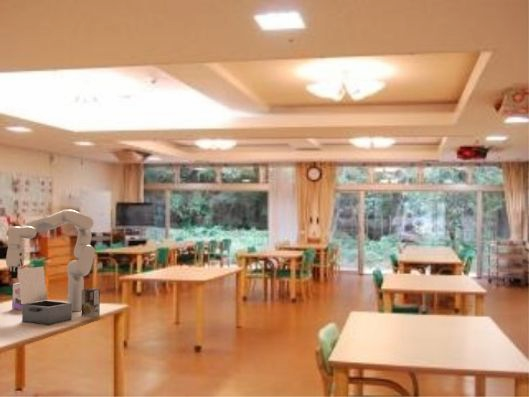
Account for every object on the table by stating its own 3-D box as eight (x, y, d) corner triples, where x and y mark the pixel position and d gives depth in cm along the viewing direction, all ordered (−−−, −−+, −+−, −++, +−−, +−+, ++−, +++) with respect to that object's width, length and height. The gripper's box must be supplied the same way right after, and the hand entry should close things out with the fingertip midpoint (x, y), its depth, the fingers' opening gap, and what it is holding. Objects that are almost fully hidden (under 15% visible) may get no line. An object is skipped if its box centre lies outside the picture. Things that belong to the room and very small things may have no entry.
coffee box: (100, 315, 370) (100, 289, 370) (93, 317, 364) (94, 290, 364) (87, 314, 373) (87, 288, 373) (80, 316, 367) (81, 289, 367)
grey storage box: (48, 316, 364) (48, 299, 364) (74, 319, 356) (74, 302, 356) (19, 322, 344) (19, 305, 345) (45, 326, 336) (46, 308, 336)
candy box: (11, 309, 387) (12, 283, 387) (18, 308, 393) (19, 282, 393) (28, 311, 382) (29, 284, 382) (35, 309, 387) (35, 283, 388)
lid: (47, 299, 363) (43, 300, 364) (43, 266, 364) (40, 267, 366) (22, 304, 346) (19, 304, 347) (18, 269, 348) (15, 269, 349)
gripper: (28, 247, 362) (28, 278, 362) (10, 246, 369) (10, 276, 369) (18, 248, 356) (18, 279, 355) (0, 247, 362) (0, 278, 362)
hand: (14, 278), depth 362 cm, fingers closed
